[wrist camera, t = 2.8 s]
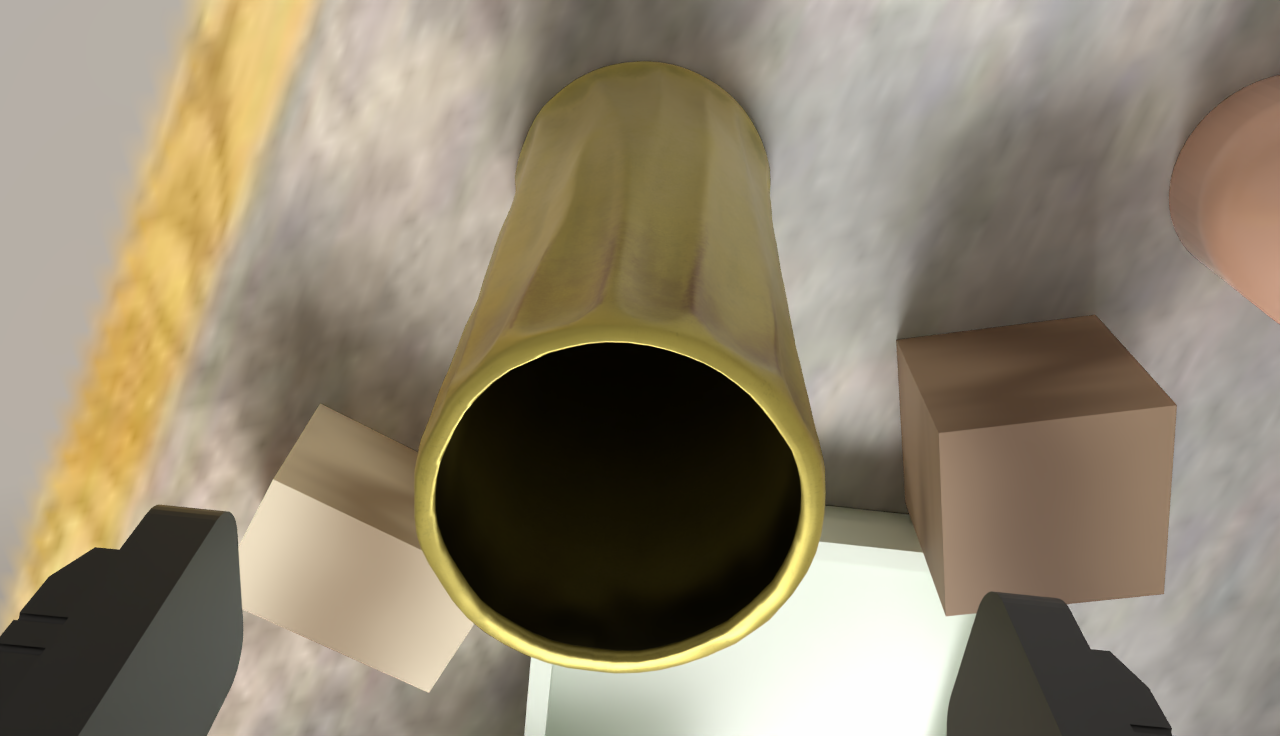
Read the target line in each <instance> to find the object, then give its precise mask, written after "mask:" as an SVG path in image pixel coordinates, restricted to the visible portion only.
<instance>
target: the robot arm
mask: <svg viewBox="0 0 1280 736" xmlns="http://www.w3.org/2000/svg"><path fill="white" fill-rule="evenodd" d="M242 642H243V614H242V598H241V582H240V567H239V551H238V535H237V526H236V521H235V518H234V516H233V515H232V513H230V512H226V511H216V510H206V509H197V508H187V507H177V506H167V505H156V506H154V507H153V508H151V509H150V510H149V512H148V513H147V514H146V515H145V517H144V518H143V519H142V521H141V522H140V523H139V525H138V526H137V527H136V529H135V530H134V531H133V533H132V534H131V535H130V537H129V538H128V539H127V541H126V542H125V543H124V545H123V546H122V547H121V549H120V550H116V549H106V548H96V547H95V548H94V549H92V550H90V551H89V552H87V553H86V554H84V555H82V556H81V557H79V558H78V559H76V560H75V561H73V562H71V563H70V564H68V565H67V566H65V567H63V568H62V569H60V570H59V571H57V572H56V573H54V574H52V575H51V576H49V577H48V579H47V580H46V581H45V582H44V584H43V585H42V586H41V587H40V588H39V590H38V591H37V592H36V593H35V595H34V596H33V597H32V598H31V599H30V601H29V602H28V603H27V604H26V606H25V607H24V608H23V609H22V610H21V612H20V616H19V619H18V620H13V621H12V623H11V624H10V625H9V626H8V627H7V629H6V630H5V631H4V632H3V634H2V635H1V636H0V736H207V734H208V732H209V730H210V728H211V726H212V724H213V722H214V720H215V718H216V716H217V714H218V712H219V710H220V708H221V706H222V704H223V702H224V700H225V698H226V696H227V694H228V692H229V690H230V688H231V686H232V683H233V681H234V678H235V675H236V672H237V668H238V664H239V660H240V655H241V649H242ZM1171 729H1172V728H1171V726H1170V724H1169V723H1168V721H1167V719H1166V717H1165V716H1164V714H1163V712H1162V710H1161V708H1160V707H1159V705H1158V703H1157V701H1156V700H1155V698H1154V696H1153V694H1152V693H1151V691H1150V689H1149V688H1148V687H1147V686H1146V685H1145V684H1144V683H1143V682H1142V681H1141V680H1140V679H1139V678H1138V677H1137V676H1136V675H1135V674H1133V673H1132V672H1131V671H1130V670H1129V669H1128V668H1127V667H1126V666H1125V665H1124V664H1123V663H1122V662H1121V661H1120V660H1119V659H1117V658H1116V657H1115V656H1114V655H1113V654H1112V653H1111V652H1110V651H1102V650H1092V649H1090V647H1089V645H1088V643H1087V641H1086V640H1085V638H1084V636H1083V634H1082V632H1081V630H1080V628H1079V626H1078V624H1077V622H1076V620H1075V619H1074V617H1073V615H1072V613H1071V611H1070V609H1069V607H1068V606H1067V604H1066V603H1065V602H1064V601H1063V600H1061V599H1059V598H1052V597H1042V596H1032V595H1022V594H1012V593H1002V592H992V591H991V592H988V593H987V594H986V595H985V596H984V597H983V599H982V600H981V602H980V605H979V607H978V610H977V613H976V617H975V620H974V623H973V626H972V629H971V633H970V636H969V639H968V642H967V645H966V649H965V652H964V655H963V658H962V661H961V665H960V668H959V671H958V674H957V677H956V681H955V684H954V687H953V690H952V693H951V697H950V701H949V706H948V713H947V736H1172V734H1171Z"/></svg>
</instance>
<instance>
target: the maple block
mask: <svg viewBox="0 0 1280 736" xmlns="http://www.w3.org/2000/svg"><path fill="white" fill-rule="evenodd" d="M417 456H418V452H417V451H415V450H413V449H411V448H409V447H407V446H405V445H403V444H401V443H399V442H397V441H395V440H393V439H391V438H389V437H387V436H385V435H383V434H381V433H379V432H377V431H375V430H373V429H371V428H369V427H367V426H365V425H363V424H361V423H358V422H356V421H354V420H352V419H350V418H348V417H346V416H344V415H342V414H340V413H338V412H336V411H334V410H332V409H330V408H328V407H326V406H324V405H322V404H319V406H318V408H317V409H316V411H315V412H314V414H313V416H312V417H311V419H310V420H309V422H308V424H307V425H306V427H305V429H304V430H303V432H302V433H301V435H300V437H299V438H298V440H297V442H296V443H295V445H294V446H293V448H292V450H291V451H290V453H289V454H288V456H287V458H286V459H285V461H284V463H283V464H282V466H281V467H280V469H279V471H278V472H277V474H276V475H275V477H274V479H273V481H272V482H271V484H270V486H269V488H268V490H267V492H266V494H265V496H264V498H263V500H262V502H261V504H260V506H259V508H258V510H257V512H256V514H255V516H254V517H253V519H252V521H251V523H250V525H249V527H248V529H247V531H246V533H245V535H244V537H243V539H242V541H241V543H240V545H239V547H238V551H239V567H240V582H241V598H242V609H243V610H245V611H247V612H250V613H252V614H254V615H256V616H258V617H261V618H263V619H265V620H267V621H270V622H272V623H274V624H276V625H279V626H281V627H283V628H285V629H287V630H290V631H292V632H294V633H296V634H299V635H301V636H303V637H305V638H308V639H310V640H312V641H314V642H316V643H319V644H321V645H323V646H325V647H328V648H330V649H332V650H334V651H337V652H339V653H341V654H343V655H345V656H348V657H350V658H352V659H354V660H357V661H359V662H361V663H363V664H366V665H368V666H370V667H372V668H374V669H377V670H379V671H381V672H383V673H386V674H388V675H390V676H392V677H395V678H397V679H399V680H401V681H403V682H406V683H408V684H410V685H412V686H415V687H417V688H419V689H421V690H424V691H426V692H428V693H429V692H430V690H431V689H432V687H433V686H434V684H435V683H436V681H437V680H438V678H439V677H440V675H441V674H442V672H443V671H444V669H445V668H446V666H447V664H448V663H449V661H450V660H451V658H452V657H453V655H454V654H455V652H456V651H457V649H458V648H459V646H460V645H461V643H462V642H463V640H464V639H465V637H466V636H467V634H468V633H469V631H470V629H471V628H472V626H473V625H474V623H473V622H471V621H470V620H469V619H468V618H467V617H466V616H465V615H464V614H463V613H462V611H461V610H460V609H459V608H458V607H457V606H456V604H455V603H454V602H453V601H452V600H451V598H450V596H449V595H448V593H447V592H446V590H445V589H444V587H443V586H442V584H441V583H440V581H439V579H438V578H437V576H436V575H435V573H434V572H433V570H432V568H431V567H430V565H429V564H428V562H427V560H426V558H425V556H424V554H423V552H422V550H421V547H420V544H419V541H418V537H417V534H416V526H415V518H414V472H415V465H416V460H417Z"/></svg>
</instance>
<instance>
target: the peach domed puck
mask: <svg viewBox="0 0 1280 736" xmlns="http://www.w3.org/2000/svg"><path fill="white" fill-rule="evenodd" d="M1169 208H1170V215H1171V220H1172V223H1173V226H1174V229H1175V231H1176V233H1177V235H1178V237H1179V239H1180V241H1181V242H1182V244H1183V245H1184V246H1185V248H1186V249H1187V250H1188V251H1189V252H1190V253H1191V254H1192V255H1193V256H1194V257H1195V258H1196V259H1197V260H1199V261H1200V262H1201V263H1202V264H1204V265H1205V266H1206V267H1207V268H1209V269H1210V270H1211V271H1212V272H1214V273H1215V274H1216V275H1217V276H1219V277H1220V278H1221V279H1223V280H1224V281H1225V282H1226V283H1228V284H1229V285H1230V286H1231V287H1233V288H1234V289H1235V290H1236V291H1238V292H1239V293H1240V294H1241V295H1243V296H1244V297H1245V298H1246V299H1248V300H1249V301H1250V302H1252V303H1253V304H1254V305H1255V306H1257V307H1258V308H1259V309H1260V310H1262V311H1263V312H1264V313H1265V314H1267V315H1268V316H1269V317H1270V318H1272V319H1273V320H1274V321H1275V322H1277V323H1278V324H1280V75H1277V76H1272V77H1269V78H1266V79H1263V80H1260V81H1257V82H1255V83H1253V84H1251V85H1249V86H1247V87H1244V88H1243V89H1241V90H1239V91H1237V92H1236V93H1234V94H1232V95H1231V96H1229V97H1228V98H1227V99H1225V100H1224V101H1223V102H1221V103H1220V104H1219V105H1217V106H1216V107H1215V108H1214V109H1213V110H1212V111H1211V112H1210V113H1209V114H1208V115H1206V116H1205V118H1204V119H1203V120H1202V121H1201V122H1200V123H1199V124H1198V126H1197V127H1196V128H1195V129H1194V131H1193V132H1192V134H1191V135H1190V136H1189V138H1188V139H1187V141H1186V143H1185V144H1184V146H1183V148H1182V150H1181V152H1180V154H1179V156H1178V159H1177V161H1176V164H1175V166H1174V170H1173V173H1172V177H1171V182H1170V190H1169Z"/></svg>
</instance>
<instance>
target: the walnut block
mask: <svg viewBox="0 0 1280 736" xmlns="http://www.w3.org/2000/svg"><path fill="white" fill-rule="evenodd" d="M896 343H897V361H898V380H899V398H900V416H901V435H902V453H903V471H904V490H905V504H906V506H907V509H908V512H909V515H910V518H911V520H912V523H913V526H914V529H915V532H916V534H917V537H918V540H919V543H920V546H921V548H922V551H923V554H924V557H925V560H926V562H927V565H928V568H929V571H930V574H931V576H932V579H933V582H934V585H935V588H936V591H937V593H938V596H939V599H940V602H941V605H942V607H943V610H944V613H945V616H956V615H965V614H975V613H977V610H978V607H979V605H980V602H981V600H982V599H983V597H984V596H985V595H986V594H987V593H988V592H991V591H992V592H1002V593H1012V594H1022V595H1032V596H1042V597H1052V598H1059V599H1061V600H1063V601H1064V602H1065V603H1066V604H1072V603H1082V602H1091V601H1101V600H1111V599H1120V598H1130V597H1140V596H1149V595H1159V594H1164V584H1165V569H1166V555H1167V540H1168V526H1169V511H1170V497H1171V482H1172V468H1173V453H1174V439H1175V424H1176V410H1177V405H1176V404H1175V403H1174V401H1173V400H1172V399H1171V398H1170V397H1169V396H1168V395H1167V394H1166V393H1165V391H1164V390H1163V389H1162V388H1161V387H1160V386H1159V385H1158V384H1157V383H1156V381H1155V380H1154V379H1153V378H1152V377H1151V376H1150V375H1149V374H1148V373H1147V371H1146V370H1145V369H1144V368H1143V367H1142V366H1141V365H1140V364H1139V363H1138V361H1137V360H1136V359H1135V358H1134V357H1133V356H1132V355H1131V354H1130V353H1129V351H1128V350H1127V349H1126V348H1125V347H1124V346H1123V345H1122V344H1121V343H1120V341H1119V340H1118V339H1117V338H1116V337H1115V336H1114V335H1113V334H1112V333H1111V331H1110V330H1109V329H1108V328H1107V327H1106V326H1105V325H1104V324H1103V323H1102V321H1101V320H1100V319H1099V318H1098V317H1097V316H1096V315H1089V316H1081V317H1073V318H1065V319H1057V320H1049V321H1041V322H1033V323H1026V324H1018V325H1010V326H1002V327H994V328H986V329H978V330H970V331H962V332H954V333H946V334H938V335H930V336H922V337H914V338H906V339H898V340H896Z"/></svg>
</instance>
